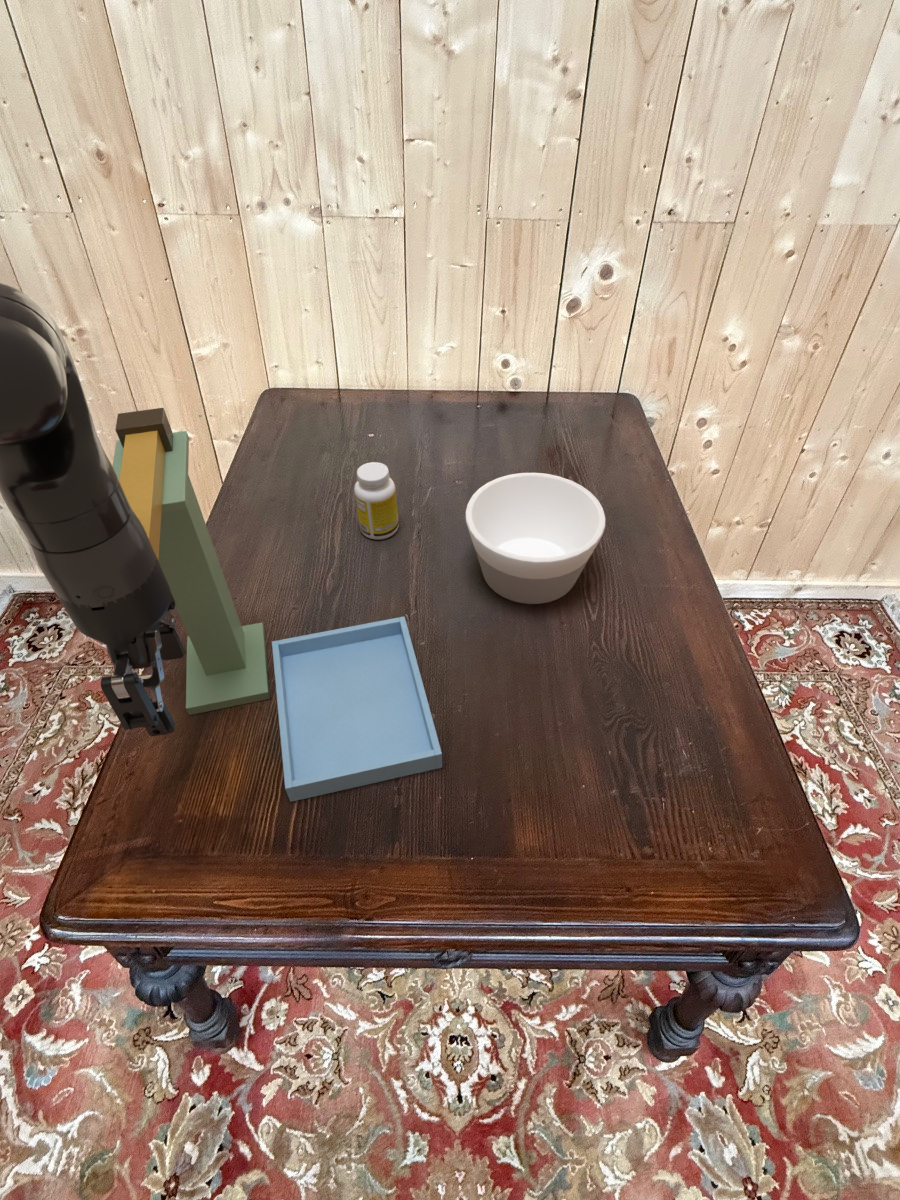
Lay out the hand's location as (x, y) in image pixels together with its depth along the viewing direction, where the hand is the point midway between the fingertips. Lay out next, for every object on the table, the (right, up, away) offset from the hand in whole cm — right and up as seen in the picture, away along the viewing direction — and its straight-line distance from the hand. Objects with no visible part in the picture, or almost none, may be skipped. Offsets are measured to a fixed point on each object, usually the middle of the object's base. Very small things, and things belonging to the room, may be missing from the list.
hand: (168, 692), depth 64 cm
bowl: (+38, +13, +39) cm, 56 cm away
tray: (+14, -5, +22) cm, 27 cm away
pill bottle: (+15, +20, +46) cm, 52 cm away
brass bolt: (-2, +18, 0) cm, 18 cm away
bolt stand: (-3, -1, +26) cm, 26 cm away
